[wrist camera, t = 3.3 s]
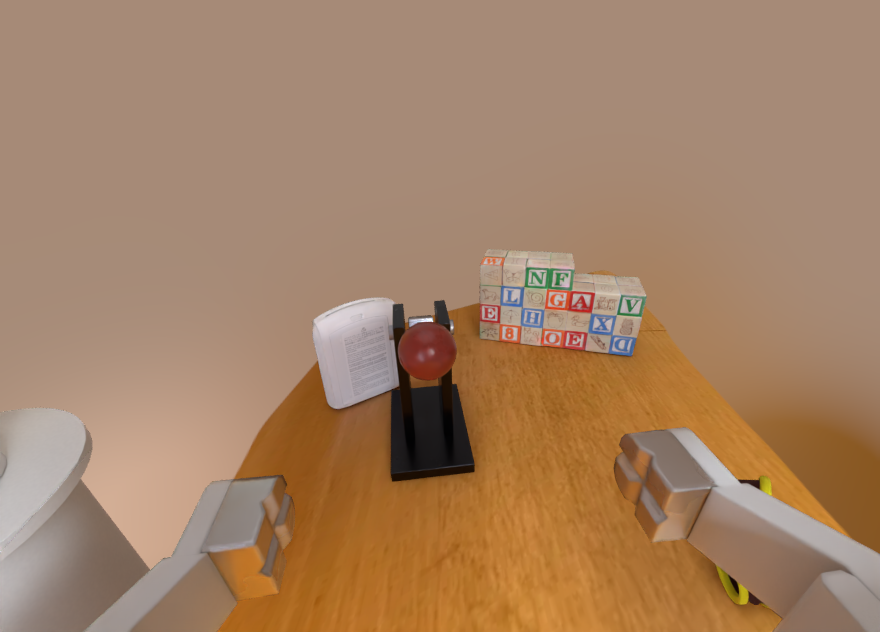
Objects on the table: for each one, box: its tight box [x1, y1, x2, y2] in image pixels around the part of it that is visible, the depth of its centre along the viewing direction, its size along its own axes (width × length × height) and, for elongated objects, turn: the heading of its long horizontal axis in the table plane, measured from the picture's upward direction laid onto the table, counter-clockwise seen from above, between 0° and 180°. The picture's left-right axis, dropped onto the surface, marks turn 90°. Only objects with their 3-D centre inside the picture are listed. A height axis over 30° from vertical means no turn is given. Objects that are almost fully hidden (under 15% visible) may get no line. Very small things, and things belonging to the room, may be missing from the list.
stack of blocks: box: [480, 249, 647, 356], centre depth 54 cm, size 21×6×12 cm, turn 74°
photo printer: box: [312, 298, 399, 409], centre depth 45 cm, size 10×4×12 cm, turn 122°
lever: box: [398, 315, 457, 380], centre depth 29 cm, size 15×4×4 cm, turn 6°
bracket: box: [388, 300, 475, 482], centre depth 38 cm, size 12×8×15 cm, turn 6°
